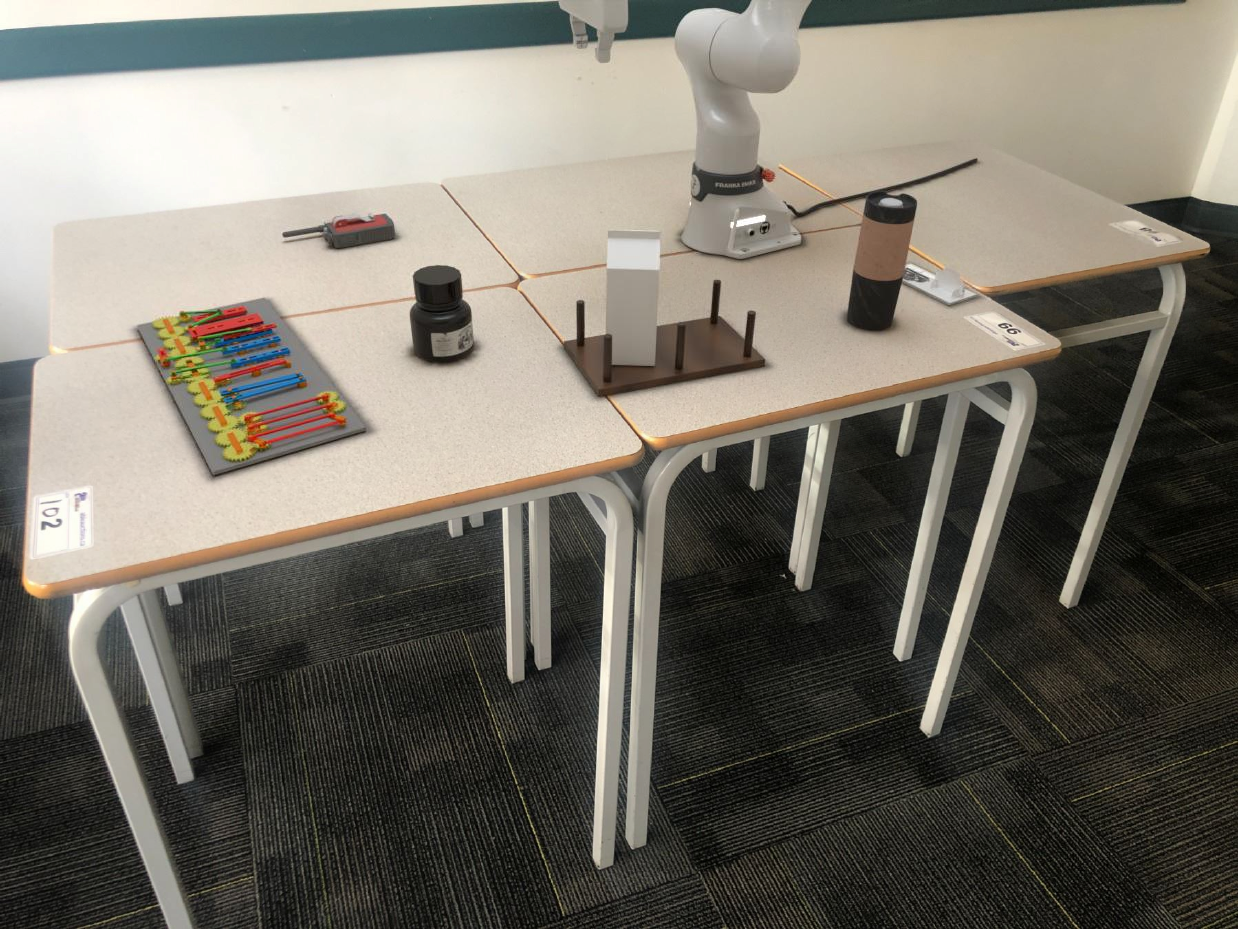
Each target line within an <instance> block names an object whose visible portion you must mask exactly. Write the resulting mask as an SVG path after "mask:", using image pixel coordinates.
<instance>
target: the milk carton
mask: <svg viewBox="0 0 1238 929" xmlns="http://www.w3.org/2000/svg"><path fill="white" fill-rule="evenodd" d="M606 248H607V249H606V250H607V251H606V288H605V290H606V291H605V292H606V293H605V297H606V298H605V303H606V304H605V334H611V335H612V365H633V366H655V353H656V332H657V326H658V312H659V311H658V307H659V289H660V288H659V287H660V268H661V267H660V266H661V264H660V263H661V261H660V260H661V231H660V230H645V229H643V230H641V229H640V230H637V229H607V247H606Z"/></svg>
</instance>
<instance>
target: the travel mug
mask: <svg viewBox="0 0 1238 929" xmlns="http://www.w3.org/2000/svg"><path fill="white" fill-rule="evenodd" d="M865 197H866V198H865V201H864V207H863V213H862V218H861V224H860V230H859V235H858V241H857V246H856V252H855V258H854V263H853V268H852V275H851V284H850V290H849V291H850V292H849V298H848V304H847V305H848V306H847V312H846V313H847V314H846V320H847V322H848V323H849V324H850V325H851V326H852V327H854V328H856V329H860V330H863V331H869V332H880V331H884V330H885V331H886V330H887V329H889V328H890V327H892V324H893V320H894V317H895V314H896V308H897V305H898V300H899V296H900V292H901V287H902V284H903V282H902V280H903V275H904V271H905V265H906V264H907V259H908V256H909V255H908V254H909V249H910V244H911V238H912V234H913V228H914V224H915V218H916V213H917V209H918V200H917V199H916V198H915V197H914V196H912V195H911V194H908V193H900V194H897V195H896V194H889V193H888V192H887V191H876V192H872V193H870V194H868V195H867V196H865Z"/></svg>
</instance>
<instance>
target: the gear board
mask: <svg viewBox="0 0 1238 929" xmlns="http://www.w3.org/2000/svg"><path fill="white" fill-rule="evenodd" d="M136 327H137V330H138V332H139V333H140V336H141V337H142V339H143V341H144V343H145V345H146V346H147V349H148V351H149V353H150V355H151V356H152V357H151V358H153V359H152V360H154V363H155V364H156V366H157V368H158V370H159V372H160V374H161V377H162V378H163V380H164V382H165V385H166V386H167V388H168V390H169V392H170V394H171V396H172V397H173V399H174V401H175V403H176V406H177V407H178V409H179V412H180V414H181V415H182V417H183V419H184V421H185V423H186V425H187V427H188V429H189V431H190V433H191V434H192V437H193V438H194V441H195V442H196V445H197V446H198V449H199V450H200V452H201V454H202V456H203V458H204V460H205V462H206V463H207V466H208V468H209V470H210V472H211V474H212V475H213V476H216V475H221V474H223V473H227V472H231V471H234V470H237V469H240V468H244V467H247V466H250V465H254V464H257V463H261V462H265V461H268V460H270V459H274V458H278V457H281V456H285V455H288V454H290V453H295V452H297V451H301V450H305V449H309V448H311V447H316V446H318V445H322V444H325V443H328V442H332V441H335V440H338V439H343V438H345V437H350V436H353V435H356V434H359V433H363V432H366V431H367V426H365V423H364V422H363V421H362V420H361V419H360V418H359V416H358V415H357V413H356V412H355V411H354V410H353V408H352V407H351V406H350V405H349V404H348V402H347V400H345V398H344V397H343V396H342V394H341V393H340V391H338V389H337V388H336V387H335V386H334V385H333V383H332V382H331V381H330V379H329V378H328V377H327V376H326V374H325V373H324V372H323V370H322V369H321V368H320V367H319V365H318V364H317V362H316V361H315V360H314V359H313V358H312V356H311V355H310V353H309V352H308V351H307V350H306V348H304V346H303V345H302V343H301V342H300V341H299V339H298V338H297V337H296V336H295V334H293V332H292V331H291V329H290V328H289V327H288V325H287V324H286V323H285V322H284V321H283V319H282V317H280V315H279V314H278V313H277V311H276V310H275V309H274V307H272V305H271V304H270V302H269V301H268V300H267V299H266V297H261V298H257V299H251V300H247V301H243V302H238V303H233V304H228V305H223V306H218V307H215V308H209V309H206V310H191V311H190V310H189V311H186V310H185V311H184V310H180V311H179V312H178V316H173V315H172V316H170V315H169V316H165V317H164V316H162V317H159V318H156V319H155V320H153V321H151V322H150V321H149V322H145V323H141V324H137V325H136Z"/></svg>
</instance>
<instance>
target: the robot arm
mask: <svg viewBox="0 0 1238 929" xmlns="http://www.w3.org/2000/svg"><path fill="white" fill-rule="evenodd" d="M812 1H813V0H751V1H750V3H749V5H748V7H747V8H746V9H745V11H743V12H742V13H738V12H734V11H730V10H727V9H722V8H718V7H711V8H699V9H694V10H692V11H690V12H688V13H687V14H685V15H684V17H683V18H682V19H681V20H680V22H679V24H678V26H677V28H676V30H675V34H674V50H675V55H676V58H677V59H678V60H679V62H680V63H681V65H682V66H683V69H684V71H685V73H686V75H687V79H688V82H689V85H690V90H691V93H692V99H693V103H694V109H695V118H696V135H695V136H696V137H695V155H694V156H695V157H694V161H693V163H692V167H691V178H690V196H691V198H690V202H689V209H688V213H687V217H686V218H687V219H686V222H685V226H684V228H683V231H682V234H681V237H680V238H681V241H682V243H683V244H684V245H686V246H687V247H689V248H690V249H693V250H695V251H698V252H702V253H705V254H712V255H718V256H719V255H720V256H726V257H729V258H733V259H738V260H744V259H748V258H752V257H755V256H759V255H764V254H767V253H771V252H776V251H779V250H783V249H787V248H791V247H795V246H799V245H801V244H802V235H801V233H800V232H799V230H797V228H795V226H793V225H792V224H791V213H790V211H791V212H792V214H793V215H794V216H796V217H804V216H806V215H809V214H810V213H812V212H814V211H816V210H817V209H819V208H822V207H826V206H829V205H833V204H837V203H843V202H847V201H851V200H854V199H859V198H864V197H867V195H868V194H870V193H872V192H876V191H885V192H889V191H892V190H897V189H901V188H904V187H908V186H911V185H915V184H918V183H921V182H924V181H928V180H931V179H934V178H937V177H939V176H943V175H946V174H948V173H950V172H951V173H952V172H953V171H957V170H958V169H961V168H964V167H966V166H968V165H971V164H974V163H976V162H978V160H979V159H978V158H977V157H975V158H973V159H970V160H968V161H965V162H962V163H960V164H957V165H955V166H952V167H949V168H947V169H944V170H941V171H939V172H936V173H932V174H930V175H926V176H923V177H920V178H917V179H913V180H910V181H906V182H902V183H898V184H894V185H890V186H886V187H882V188H878V189H873V190H870V191H866V192H861V193H856V194H853V195H848V196H844V197H840V198H836V199H830V200H826V201H822V202H820V203H817V204H815V205H813V206H811V207H810V208H808V209H807V210H804V211H802V212H801V211H797V210H796V209H795V207H794V206H792V205H791V204H788V203H787V201H785V200H782V199H781V198H780V197H779V196H777V194H775V193H774V192H773V191H772V190H770V189H769V188H768V187H767V186H766V185H765V184H764V180H765V182H767V183H773V182H774V180H775V179H776V175H777V174H776V173H775V171H773V170H771V169H770V168H765V167H763V166H762V165H761V164H758V155H759V146H760V137H761V120H760V118H759V116H758V114H757V112H756V110H755V108H754V107H753V106H752V104H751V101H750V97H749V94H748V93H752V94H778V93H780V92H782V91H784V90H785V89H787V88H788V87H789V86H790V85H791V83H792V82H793V81H794V79H795V77H796V76H797V73H798V71H799V68H800V64H801V47H800V44H799V40H798V33H799V28H800V26H801V22H802V20H803V17H804V14H805V12H806V10H807V9H808V7H809V6H810V4H811V2H812ZM557 2H558V5H559V8H560V10H562V11H564V12H566V13H568V15H569V23H570V27H571V32H572V36H573V38H572V42H573V43H572V44H573V46H574V47H575V48H576V49H579V50H582V49H587V48H588V46H589V44H588V41H589V36H588V34H587V30H586V28H587V27H586V25H588V26H590V27H592V28H594V29H596V37H597V46H596V47H594V54H595V55H594V59H595V60H596V61H597V62H598V63H600V64H606V63H609V62H610V61H611V49H612V47H613V43H614V40H615V34H620V33H625V32H626V31H627V28H628V25H629V0H557Z"/></svg>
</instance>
